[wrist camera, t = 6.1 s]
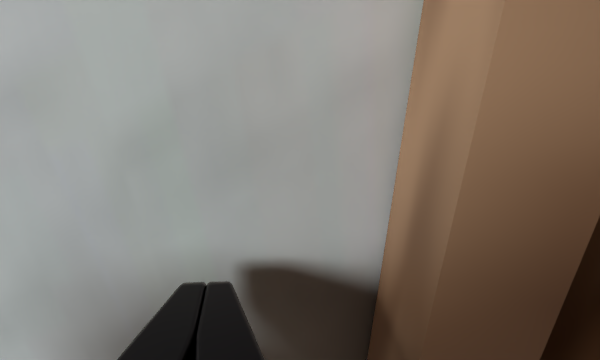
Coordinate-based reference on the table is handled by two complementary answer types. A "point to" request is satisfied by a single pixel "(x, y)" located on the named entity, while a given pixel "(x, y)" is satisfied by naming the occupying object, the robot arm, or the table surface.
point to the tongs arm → (491, 180)
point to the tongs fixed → (579, 311)
